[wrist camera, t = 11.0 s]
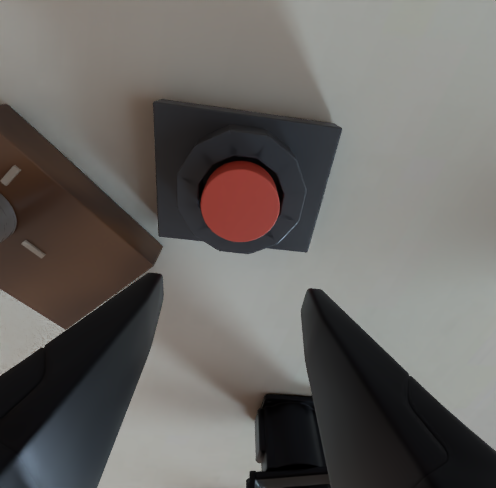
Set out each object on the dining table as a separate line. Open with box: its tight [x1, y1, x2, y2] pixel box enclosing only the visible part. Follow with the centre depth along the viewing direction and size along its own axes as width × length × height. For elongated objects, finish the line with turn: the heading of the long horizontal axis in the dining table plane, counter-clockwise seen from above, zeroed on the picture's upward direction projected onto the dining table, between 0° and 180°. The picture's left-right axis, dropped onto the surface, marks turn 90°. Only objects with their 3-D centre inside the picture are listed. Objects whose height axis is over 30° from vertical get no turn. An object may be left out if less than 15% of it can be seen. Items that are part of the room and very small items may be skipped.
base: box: [0, 104, 163, 329], centre depth 18 cm, size 13×10×3 cm
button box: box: [153, 99, 342, 254], centre depth 17 cm, size 10×8×4 cm
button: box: [200, 161, 280, 242], centre depth 15 cm, size 4×4×2 cm
